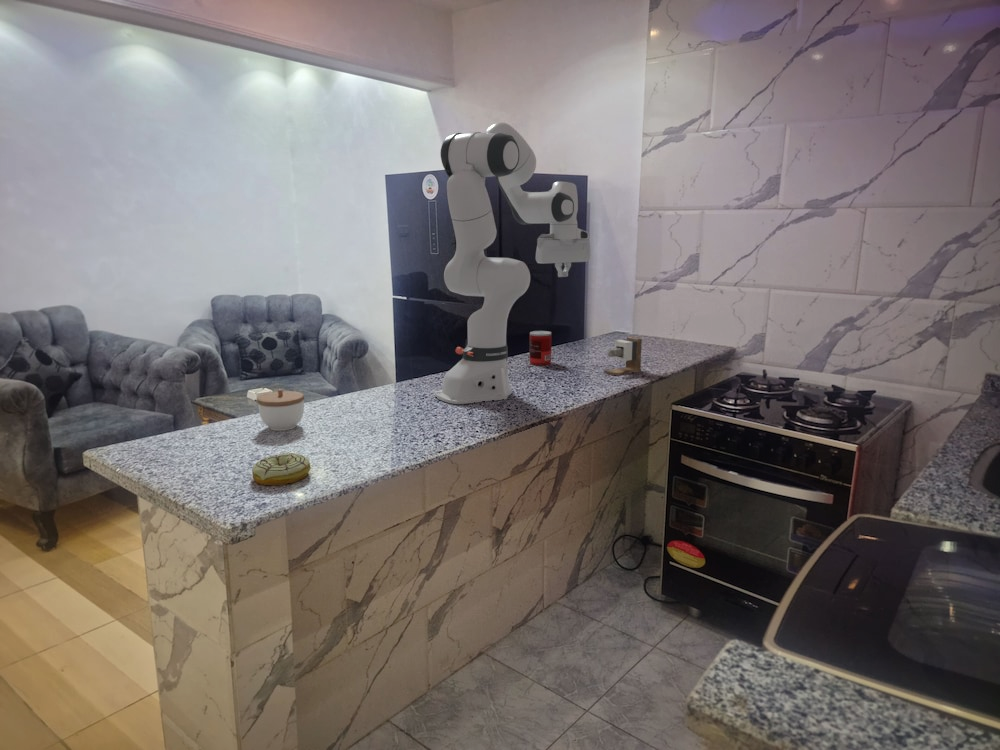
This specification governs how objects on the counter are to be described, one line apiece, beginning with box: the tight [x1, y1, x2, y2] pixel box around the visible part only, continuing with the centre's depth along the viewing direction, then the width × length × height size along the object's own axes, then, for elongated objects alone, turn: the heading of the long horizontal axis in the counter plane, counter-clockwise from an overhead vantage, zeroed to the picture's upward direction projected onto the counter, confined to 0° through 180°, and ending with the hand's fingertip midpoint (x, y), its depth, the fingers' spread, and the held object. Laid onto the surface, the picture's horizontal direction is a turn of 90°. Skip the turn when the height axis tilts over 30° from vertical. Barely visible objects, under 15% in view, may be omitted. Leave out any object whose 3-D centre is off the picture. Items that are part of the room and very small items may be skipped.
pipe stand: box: [603, 336, 643, 376], centre depth 218 cm, size 12×5×11 cm, turn 123°
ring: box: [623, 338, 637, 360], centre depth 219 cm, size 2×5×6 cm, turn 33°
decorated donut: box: [251, 452, 311, 487], centre depth 129 cm, size 10×11×4 cm
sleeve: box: [613, 339, 632, 362], centre depth 218 cm, size 3×5×6 cm, turn 33°
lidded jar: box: [256, 388, 305, 432], centre depth 160 cm, size 11×11×9 cm
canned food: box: [529, 330, 553, 366], centre depth 233 cm, size 8×8×11 cm
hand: (562, 276), depth 217 cm, fingers closed
